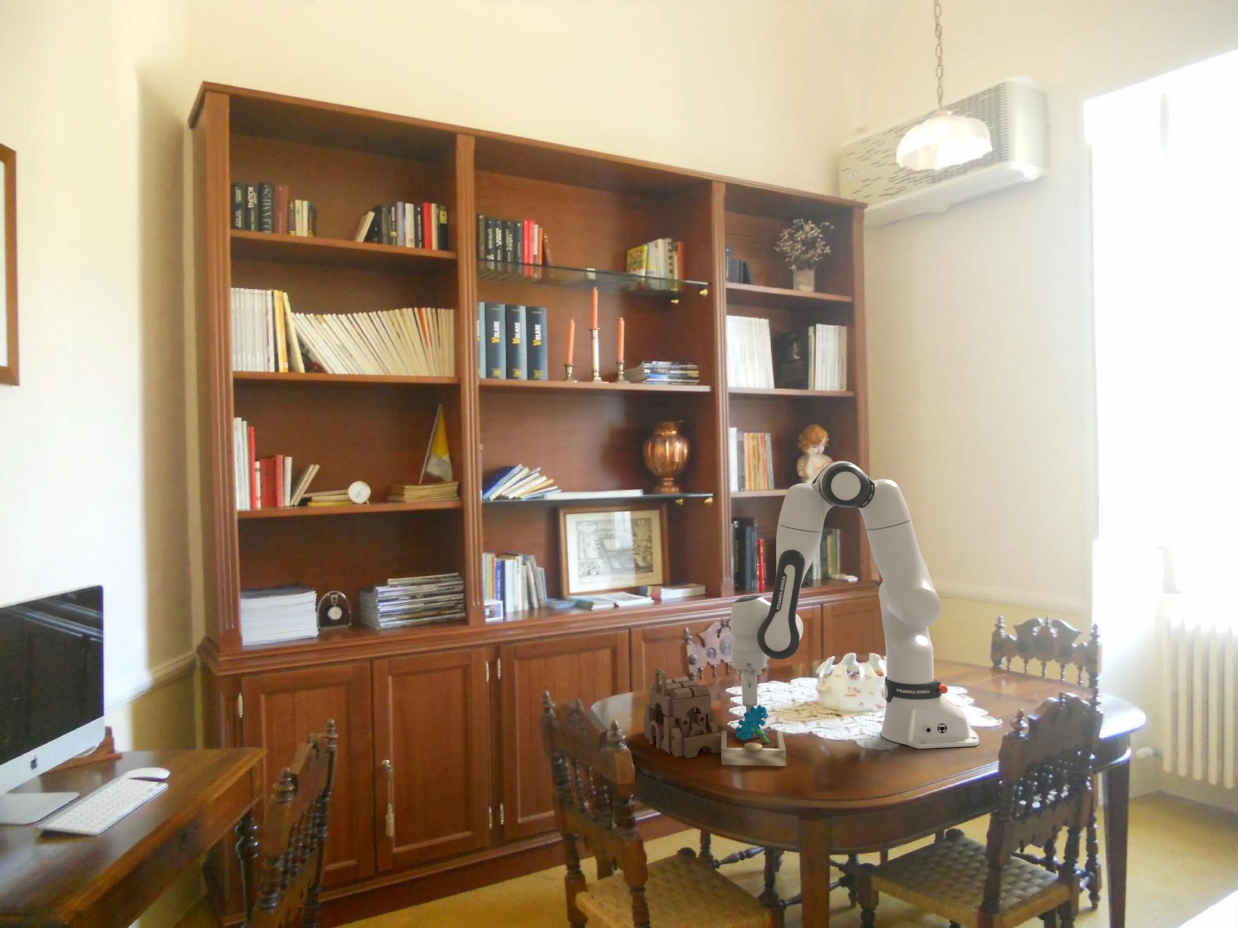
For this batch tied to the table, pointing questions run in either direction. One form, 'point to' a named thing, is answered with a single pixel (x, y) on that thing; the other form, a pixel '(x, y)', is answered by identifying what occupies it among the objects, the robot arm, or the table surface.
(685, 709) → the wooden puzzle
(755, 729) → the gear
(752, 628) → the robot arm
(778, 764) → the drawer
